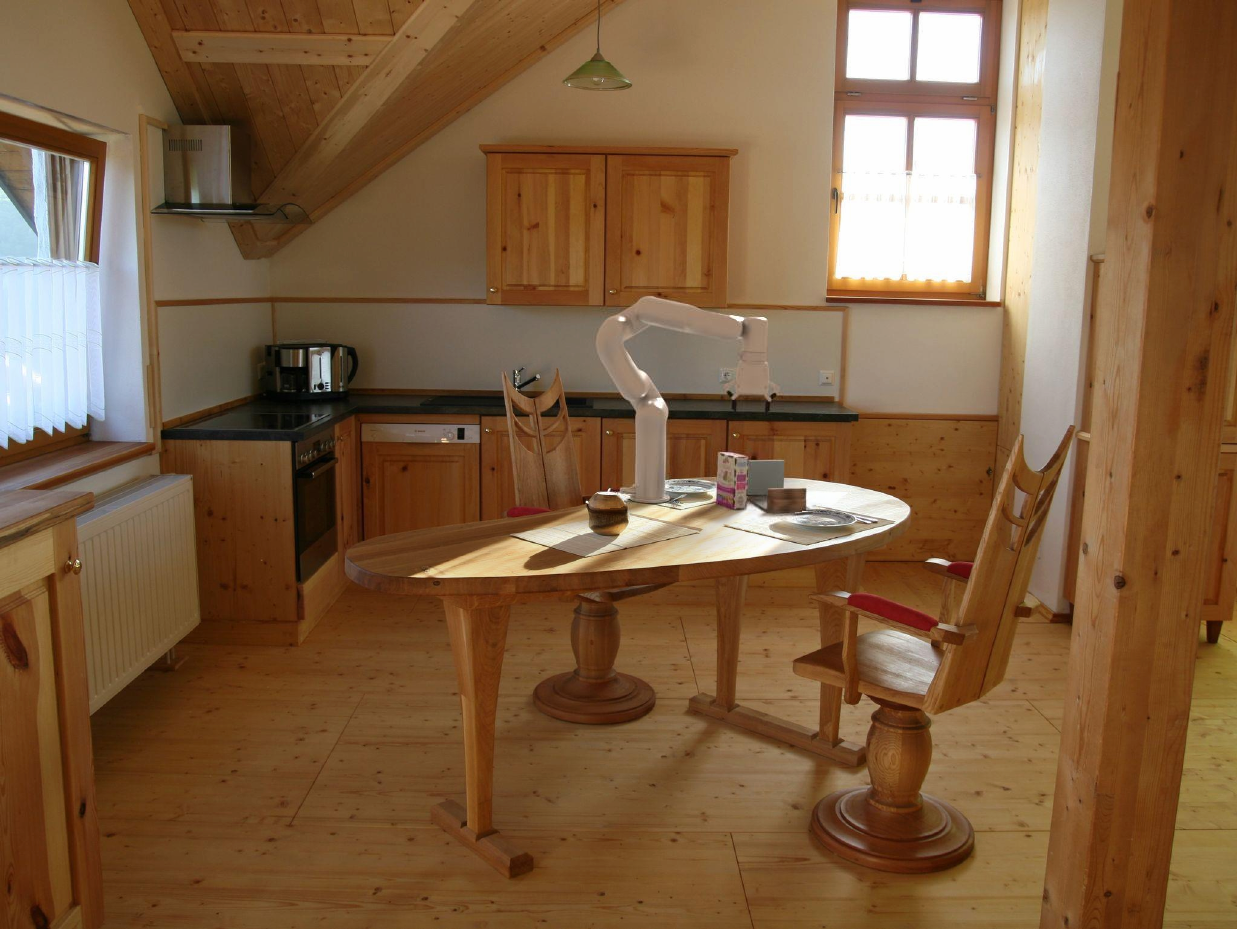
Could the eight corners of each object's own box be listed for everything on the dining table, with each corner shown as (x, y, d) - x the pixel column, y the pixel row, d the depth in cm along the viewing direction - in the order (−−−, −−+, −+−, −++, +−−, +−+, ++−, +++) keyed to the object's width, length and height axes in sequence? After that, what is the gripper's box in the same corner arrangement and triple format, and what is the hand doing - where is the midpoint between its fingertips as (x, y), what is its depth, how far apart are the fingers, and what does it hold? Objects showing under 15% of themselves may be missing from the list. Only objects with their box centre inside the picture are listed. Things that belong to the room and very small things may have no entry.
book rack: (768, 513, 321) (769, 491, 320) (746, 499, 343) (747, 478, 342) (812, 512, 324) (813, 490, 323) (788, 498, 345) (789, 477, 344)
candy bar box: (747, 509, 328) (749, 456, 325) (733, 510, 326) (735, 457, 323) (729, 502, 338) (730, 451, 335) (715, 503, 336) (716, 451, 333)
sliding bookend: (747, 494, 345) (748, 461, 343) (739, 489, 354) (740, 456, 352) (783, 494, 347) (784, 460, 345) (774, 488, 356) (775, 456, 354)
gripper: (725, 357, 326) (722, 413, 329) (782, 359, 325) (779, 415, 328) (725, 355, 333) (722, 410, 336) (781, 358, 332) (777, 413, 335)
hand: (750, 413), depth 332 cm, fingers open, 9 cm apart
